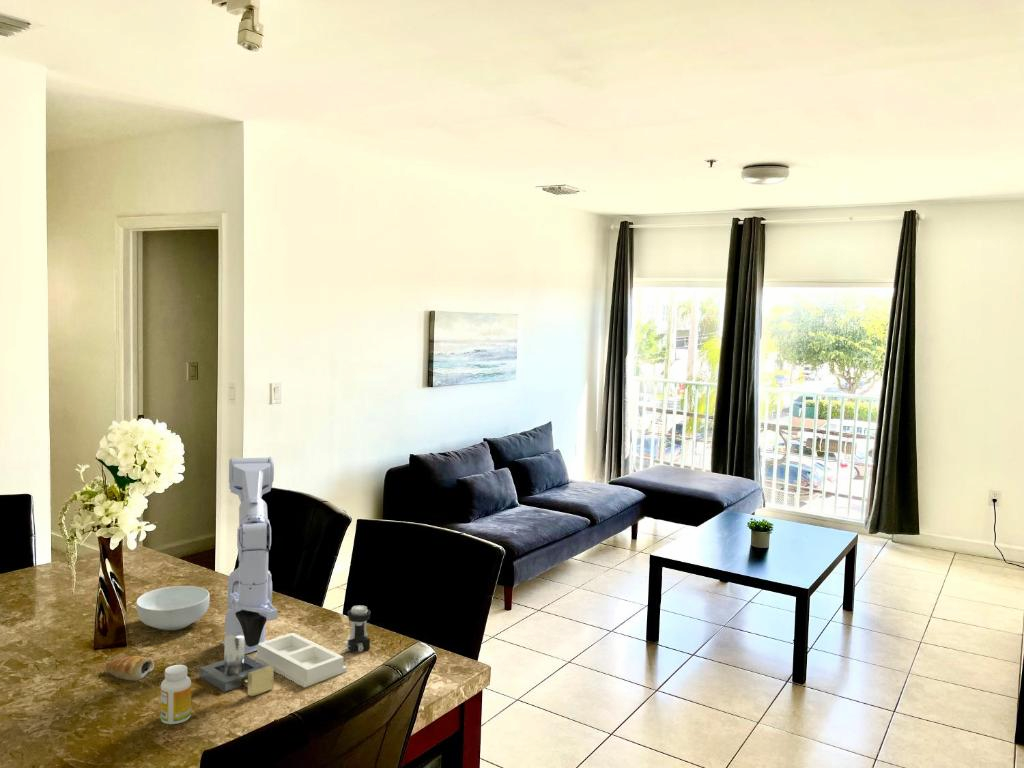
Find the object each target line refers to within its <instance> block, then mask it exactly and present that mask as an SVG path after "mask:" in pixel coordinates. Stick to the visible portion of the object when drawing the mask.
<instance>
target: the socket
mask: <svg viewBox="0 0 1024 768" xmlns="http://www.w3.org/2000/svg"><path fill="white" fill-rule="evenodd" d="M263 667H266V666H264V665H262V664H260V663H258V662H256V661H255V660H254V658H251V657H249V656H247V655H246V654H244V672H241V673H238V674H235V675H232V676H227V675H225V674H224V659H223V660H219V661H216V662H213V663H210V664H206V665H203V666H201V667H199V677H200V678H201V679H203V680H204V681H206V682H208V683H210V684H211V685H212V686H214V687H216V688H218V689H220V690H221V691H223V692H224V693H226V691H227V692H229V690H230V691H232V689H233V690H235V689H238V688H240V686H241V687H242V684H241V681H242V679H243V678H246V677H248V673H249V672H252V671H255V670H257V669H260V668H263ZM237 687H238V688H237ZM234 688H235V689H234Z"/></svg>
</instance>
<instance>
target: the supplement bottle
mask: <svg viewBox="0 0 1024 768" xmlns="http://www.w3.org/2000/svg"><path fill="white" fill-rule="evenodd" d="M191 715H192V680H191V677H189V676H188V667H187V665H184V664H174V665H170V666H168V667H166V668H165V670H164V679H163V680H162V681H161V683H160V721H161V722H162V723H164V724H166V725H176V724H182V723H184V722H187V721H188V720H189V719H190V718H191Z"/></svg>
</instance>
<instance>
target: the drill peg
mask: <svg viewBox="0 0 1024 768" xmlns="http://www.w3.org/2000/svg"><path fill="white" fill-rule="evenodd" d="M224 640H225V645H224V644H223V645H224V649H223V651H224V653H223V654H224V655H223V656H224V658H223V660H224V674H225V675H227V676H232V675H235V674H238V673H241V672H244V655H245V654H244V634H243V633H240V632H233V633H229V634H227V635H225V634H224Z"/></svg>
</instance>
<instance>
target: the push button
mask: <svg viewBox="0 0 1024 768" xmlns="http://www.w3.org/2000/svg"><path fill="white" fill-rule="evenodd" d="M371 612H372V611H371V610H370V609H368V606H366V605H361V604H359V605H353V606H352V607H351V609H349V610H347V616H348V617H347V618H348V620H349V621H350V636H349V638H348V639H347V644H345V645H342V646H341V647H342V648H344V649H341V651H342V652H347V651H348V652H350V653H356V652H357V653H358V652H363V651H369V650H370V648H371V646H370V644H371V643H370V642H371V639H370V638H369V637H368V633H367V623H368V622H367V621H369V619H370V617H371Z"/></svg>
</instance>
